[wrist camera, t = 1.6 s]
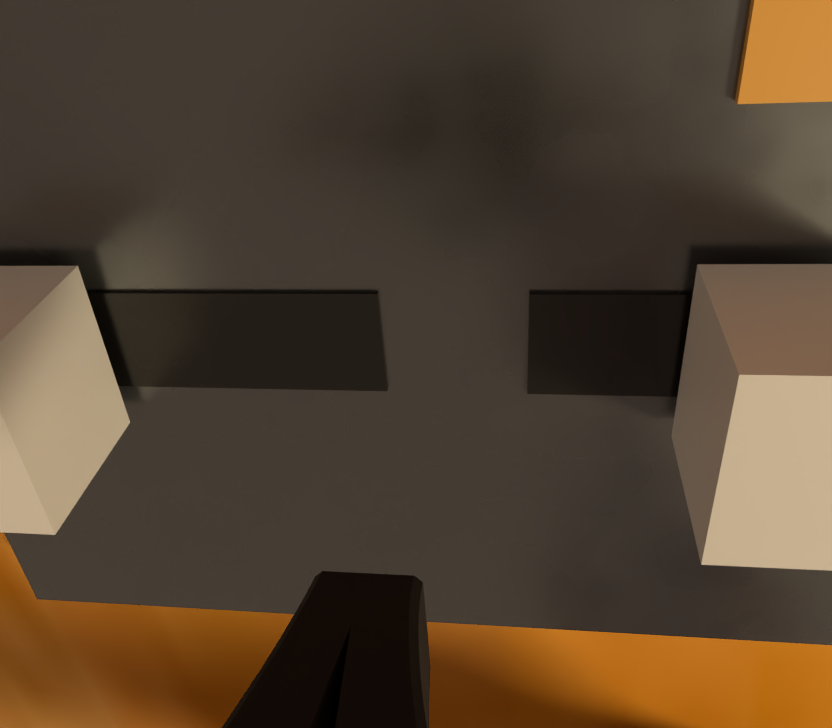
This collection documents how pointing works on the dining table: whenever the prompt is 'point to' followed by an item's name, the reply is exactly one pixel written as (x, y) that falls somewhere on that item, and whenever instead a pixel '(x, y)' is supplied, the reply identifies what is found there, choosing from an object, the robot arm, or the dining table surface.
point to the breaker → (51, 397)
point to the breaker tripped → (758, 415)
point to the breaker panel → (411, 290)
